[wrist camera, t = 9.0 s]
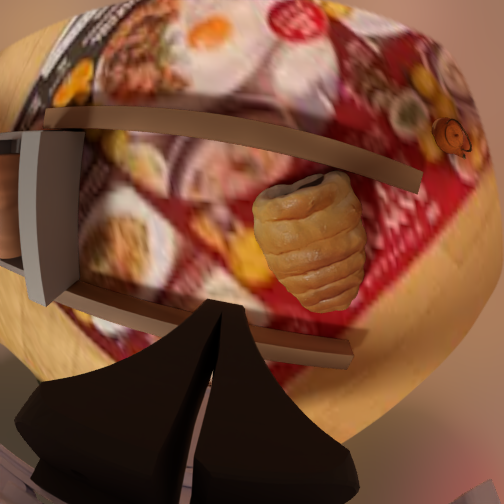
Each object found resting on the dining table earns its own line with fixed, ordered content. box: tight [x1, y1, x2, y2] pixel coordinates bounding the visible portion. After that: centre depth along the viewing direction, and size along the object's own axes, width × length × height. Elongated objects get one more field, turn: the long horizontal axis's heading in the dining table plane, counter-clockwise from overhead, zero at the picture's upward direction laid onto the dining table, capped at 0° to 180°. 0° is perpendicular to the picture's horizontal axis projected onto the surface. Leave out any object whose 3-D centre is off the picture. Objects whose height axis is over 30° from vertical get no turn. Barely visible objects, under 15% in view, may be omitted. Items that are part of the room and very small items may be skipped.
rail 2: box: [54, 280, 354, 370], centre depth 20 cm, size 2×26×2 cm, turn 78°
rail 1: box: [43, 106, 423, 195], centre depth 15 cm, size 2×26×2 cm, turn 78°
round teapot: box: [432, 118, 472, 159], centre depth 14 cm, size 3×3×3 cm
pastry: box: [252, 170, 367, 313], centre depth 17 cm, size 9×7×4 cm
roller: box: [0, 153, 22, 259], centre depth 15 cm, size 8×4×4 cm, turn 168°
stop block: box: [18, 131, 85, 307], centre depth 16 cm, size 12×2×5 cm, turn 168°
